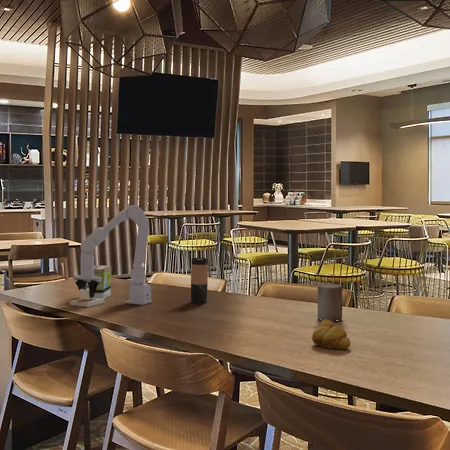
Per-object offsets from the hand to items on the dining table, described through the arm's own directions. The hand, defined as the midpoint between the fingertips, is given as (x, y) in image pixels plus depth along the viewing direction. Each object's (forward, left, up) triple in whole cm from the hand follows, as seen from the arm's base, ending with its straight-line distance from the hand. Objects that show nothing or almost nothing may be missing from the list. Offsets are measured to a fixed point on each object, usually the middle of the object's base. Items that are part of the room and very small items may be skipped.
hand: (87, 297), depth 249 cm
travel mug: (-41, -28, -3) cm, 50 cm away
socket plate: (0, 0, -3) cm, 3 cm away
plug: (0, 0, -2) cm, 2 cm away
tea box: (+7, -16, -4) cm, 18 cm away
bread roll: (-115, +21, -4) cm, 117 cm away
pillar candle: (-104, -19, -3) cm, 106 cm away
